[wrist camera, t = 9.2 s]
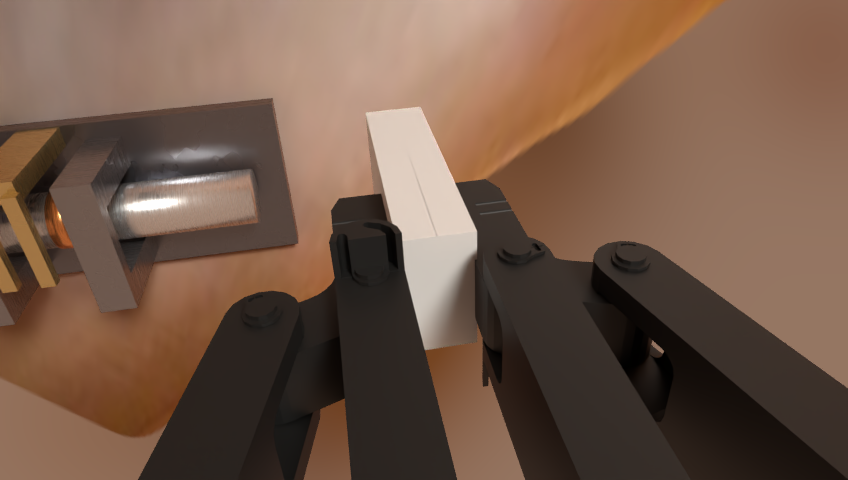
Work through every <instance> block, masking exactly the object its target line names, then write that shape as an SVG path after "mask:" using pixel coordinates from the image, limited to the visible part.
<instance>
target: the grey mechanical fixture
mask: <svg viewBox="0 0 848 480" xmlns="http://www.w3.org/2000/svg"><path fill="white" fill-rule="evenodd" d="M57 127H59V129H60V131H61V134H62V137H63V139H64V142H65V144H66V147H65V148H64V149H63V151H62V152H61V153H60V154H59V156H58V157H57V158H56V159H55V161H54V162H53V163H52V164H51V166H50V167H49V168H48V170H47V171H46V172H45V173H44V175H43V176H42V177H41V178H40V180H39V181H38V182H37V183H36V185H35V186H34V187H33V189H32V190H31V191H30V192H29V194H34V193H43V192H49V191H50V193H51V196H52V198H53V200H54V203H55V205H56V207H57V210H58V212H59V214H60V217H61V219H62V221H63V224H64V226H65V229H66V231H67V233H68V236H69V238H70V240H71V243H72V245H73V247H74V248H69V249H61V248H52V249H46V250H47V252H48V254H49V257H50V259H51V261H52V263H53V265H54V268H55V270H56V272H57V274H64V273H72V272H80V271H84V273H85V275H86V278H87V280H88V282H89V285H90V287H91V289H92V292H93V294H94V296H95V299H96V301H97V304H98V306H99V308H100V311H101V313H103V312H110V311H117V310H125V309H132V308H138V305H139V302H140V300H141V297H142V294H143V291H144V288H145V286H146V283H147V280H148V277H149V274H150V272H151V269H152V266H153V263H154V262H158V261H165V260H173V259H181V258H189V257H196V256H204V255H212V254H220V253H227V252H235V251H243V250H251V249H259V248H266V247H274V246H282V245H290V244H297V243H298V232H297V226H296V221H295V216H294V210H293V205H292V200H291V194H290V189H289V184H288V178H287V173H286V168H285V162H284V157H283V152H282V146H281V141H280V136H279V130H278V125H277V120H276V114H275V109H274V104H273V98H271V99H261V100H251V101H242V102H232V103H222V104H212V105H202V106H192V107H183V108H173V109H163V110H153V111H143V112H134V113H124V114H114V115H104V116H94V117H84V118H75V119H65V120H55V121H45V122H35V123H25V124H16V125H6V126H0V147H1V146H2V145H3V144H4V143H5V142H6V141H7V140H8V139H9V138H10V137H11V136H12V135H13V134H14V133H15V132H18V131H28V130H37V129H47V128H57ZM245 169H252V170H253V172H254V175H255V178H256V182H257V186H258V192H259V199H260V209H261V219H260V223H253V224H245V225H237V226H229V227H221V228H213V229H205V230H197V231H189V232H181V233H173V234H165V235H156V236H148V237H140V238H132V239H124V240H118V237H117V235H116V232H115V229H114V227H113V224H112V221H111V219H110V216H109V213H108V211H107V206H108V204H109V203H110V201H111V199H112V197H113V195H114V193H115V191H116V190H117V188H118V186H119V184H122V183H131V182H139V181H148V180H157V179H166V178H174V177H183V176H192V175H201V174H209V173H218V172H227V171H236V170H245ZM7 255H8V257H9V259H10V261H11V263H12V265H13V267H14V269H15V271H16V273H17V275H18V277H19V279H20V281H21V283H22V286H21V287H20V289H19V290H18V291H16V292H8V293H2V291H1V289H0V326H7V325H15V324H16V322H17V320H18V319H19V317H20V315H21V314H22V312H23V310H24V309H25V307H26V305H27V304H28V302H29V300H30V299H31V297H32V295H33V294H34V292H35V290H36V289H37V287H38V285H39V282H38V280H37V278H36V276H35V274H34V272H33V269H32V267H31V265H30V263H29V261H28V259H27V257H26V255H25V253H24V252H19V253H11V254H7Z"/></svg>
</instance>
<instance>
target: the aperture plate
mask: <svg viewBox="0 0 848 480" xmlns="http://www.w3.org/2000/svg"><path fill="white" fill-rule="evenodd" d="M65 147H66V144H65V142H64V139H63V137H62V134H61V131H60V129H59V127H57V128H47V129H37V130H28V131H18V132H15V133H14V134H13V135H12V136H11V137H10V138H9V139H8V140H7V141H6V142H5V143H4V144H3V145H2V146H1V147H0V205H2V207H3V209H4V211H5V213H6V215H7V218H8V220H9V222H10V224H11V226H12V228H13V230H14V232H15V234H16V236H17V238H18V240H19V242H20V245H21V247H22V249H23V251H24V253H25V255H26V257H27V259H28V261H29V263H30V265H31V267H32V269H33V272H34V274H35V276H36V278H37V280H38V282H39V284H40V286H41V288H46V287H54V286H57V284H58V282H59V281H60V279H59V276H58V274H57V272H56V270H55V268H54V265H53V263H52V261H51V259H50V257H49V254H48V252H47V250H46V248H45V246H44V243H43V241H42V239H41V237H40V235H39V233H38V230H37V228H36V226H35V224H34V222H33V219H32V217H31V215H30V213H29V211H28V208H27V206H26V204H25V202H24V199H25V197H26V196H27V195H28V194H29V192H30V191H31V190H32V189H33V187H34V186H35V185H36V183H37V182H38V181H39V180H40V178H41V177H42V176H43V175H44V173H45V172H46V171H47V170H48V168H49V167H50V166H51V164H52V163H53V162H54V161H55V159H56V158H57V157H58V156H59V154H60V153H61V152H62V151H63V149H64V148H65ZM21 286H22V283H21V281H20V279H19V277H18V275H17V273H16V271H15V269H14V267H13V265H12V263H11V261H10V259H9V257H8V255H7V253H6V251H5V249H4V247H3V245H2V243H1V241H0V289H1V291H2V293H8V292H16V291H18V290H19V289H20V287H21Z"/></svg>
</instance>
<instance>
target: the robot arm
mask: <svg viewBox="0 0 848 480" xmlns="http://www.w3.org/2000/svg"><path fill="white" fill-rule="evenodd" d="M366 122H367V132H368V141H369V151H370V161H371V170H372V180H373V189H374V194H373V195H365V196H357V197H348V198H340V199H339V200H338V201H337V203H336V204H335V206H334V207H333V209H332V210H331V215H332V227H333V234H332V235H331V238H330V241H329V244H330V251H331V257H332V263H333V270H334V276H335V279H334V280H333V282H332V284H331V285H330V286H329V287H328V288H327V289H326V290H325V291H323V292H322V293H320V294H319V295H317V296H314V297H312V298H310V299H308V300H305V301H302V302H299V303H298V302H297V300H296V299H295V298H294V297H292V296H291V295H289V294H287V293H284V292H276V291H268V292H259V293H256V294H253V295H250V296H247V297H244V298H243V299H241V300H240V301H238V302H236V303H235V304H233V305H232V307H231V308H230V309H229V310H228V311H227V313H226V314H225V316H224V318H223V320H222V321H221V323H220V325H219V327H218V329H217V331H216V333H215V335H214V337H213V338H212V340H211V342H210V344H209V346H208V348H207V350H206V352H205V354H204V356H203V357H202V359H201V361H200V363H199V365H198V367H197V369H196V371H195V373H194V375H193V376H192V378H191V380H190V382H189V384H188V386H187V388H186V390H185V392H184V393H183V395H182V397H181V399H180V401H179V403H178V405H177V407H176V409H175V411H174V412H173V414H172V416H171V418H170V420H169V422H168V424H167V426H166V428H165V430H164V431H163V433H162V435H161V437H160V439H159V441H158V443H157V445H156V447H155V449H154V451H153V453H152V454H151V456H150V458H149V460H148V462H147V464H146V466H145V468H144V469H143V471H142V473H141V476H140V477H139V479H138V480H303V479H304V475H305V471H306V467H307V464H308V461H309V457H310V453H311V449H312V446H313V442H314V438H315V434H316V431H317V427H318V424H319V420H320V409H321V408H323V407H326V406H328V405H331V404H333V403H335V402H338V401H340V400H342V399H344V398H345V407H346V419H347V431H348V444H349V455H350V467H351V480H457V477H456V473H455V469H454V465H453V461H452V457H451V453H450V449H449V445H448V442H447V437H446V433H445V429H444V425H443V422H442V417H441V413H440V409H439V405H438V401H437V397H436V393H435V389H434V385H433V381H432V377H431V373H430V369H429V365H428V361H427V357H426V353H425V350H428V349H435V348H442V347H448V346H455V345H461V344H468V343H475V342H477V324H478V326H479V329H480V332H481V335H482V337H483V373H482V374H483V375H482V378H483V386H488V377H490V380H491V383H492V386H493V389H494V392H495V394H496V397H497V400H498V403H499V406H500V409H501V412H502V415H503V417H504V420H505V423H506V426H507V429H508V432H509V435H510V437H511V440H512V443H513V446H514V449H515V451H516V454H517V457H518V460H519V463H520V466H521V469H522V471H523V474H524V477H525V480H848V388H846V387H845V386H844V385H842V384H841V383H840V382H838V381H837V380H835V379H834V378H833V377H831V376H830V375H828V374H827V373H826V372H824V371H823V370H822V369H820V368H819V367H817V366H816V365H815V364H813V363H812V362H810V361H809V360H808V359H806V358H805V357H803V356H802V355H801V354H799V353H798V352H797V351H795V350H794V349H793V348H791V347H790V346H788V345H787V344H786V343H784V342H783V341H781V340H780V339H779V338H777V337H776V336H775V335H773V334H772V333H770V332H769V331H768V330H766V329H765V328H763V327H762V326H761V325H759V324H758V323H757V322H755V321H754V320H752V319H751V318H750V317H748V316H747V315H745V314H744V313H743V312H741V311H740V310H738V309H737V308H736V307H734V306H733V305H732V304H730V303H729V302H727V301H726V300H725V299H723V298H722V297H721V296H719V295H718V294H716V293H715V292H714V291H712V290H711V289H710V288H708V287H707V286H705V285H704V284H703V283H701V282H700V281H699V280H697V279H696V278H694V277H693V276H691V275H690V274H689V273H687V272H686V271H685V270H683V269H682V268H680V267H679V266H678V265H676V264H675V263H674V262H672V261H671V260H670V259H668V258H667V257H665V256H664V255H663V254H661V253H660V252H658V251H657V250H655V249H653V248H651V247H649V246H647V245H643V244H639V243H636V242H629V241H628V242H626V241H619V242H613V243H608V244H605V245H604V246H602V247H600V248H598V250H597V251H596V252H595V254H594V259H593V262H579V261H568V260H561V259H557V258H555V257H554V256H553V254H552V252H551V251H550V249H549V248H548V247H547V246H546V245H545V244H544V243H542V242H540V241H538V240H536V239H533V238H529V237H528V236H527V235H526V233H525V231H524V230H523V228H522V226H521V224H520V222H519V221H518V219H517V217H516V216H515V214H514V212H513V211H512V210H511V207H510V205H509V204H508V202H506V198H505V197H504V195H503V193H502V192H501V190H500V188H498V187H497V186H495V185H494V184H492V183H490V182H489V181H487V180H486V179H484V180H476V181H467V182H459V183H455V182H454V180H453V178H452V175H451V173H450V171H449V169H448V167H447V164H446V162H445V160H444V158H443V156H442V154H441V151H440V149H439V147H438V145H437V143H436V140H435V138H434V136H433V134H432V132H431V129H430V127H429V125H428V123H427V121H426V119H425V116H424V114H423V112H422V110H421V108H420V107H414V108H405V109H395V110H386V111H376V112H367V113H366ZM652 340H653V341H654V342H655V343H656V344H657V345H659V346H660V347H661V348H662V349H663V350H664V353H663V354H662V353H661V352H659V351H658V350H657V349H655V348H654V347H653V346H652V345H651V344H652Z"/></svg>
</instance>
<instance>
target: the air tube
mask: <svg viewBox="0 0 848 480" xmlns="http://www.w3.org/2000/svg"><path fill="white" fill-rule="evenodd" d="M24 202H25V204H26V206H27V208H28V211H29V213H30V215H31V217H32V219H33V222H34V224H35V226H36V228H37V230H38V233H39V235H40V237H41V239H42V241H43V243H44V246H45V248H46V249H52V248H61V249H69V248H74V247H73V245H72V243H71V240H70V238H69V236H68V233H67V231H66V229H65V226H64V224H63V221H62V219H61V217H60V214H59V212H58V210H57V207H56V205H55V203H54V200H53V198H52V196H51V193H50V191H49V192H43V193H34V194H28V195H27V196H26V197H25V199H24ZM107 211H108V213H109V216H110V219H111V221H112V224H113V227H114V229H115V232H116V235H117V237H118V240H124V239H132V238H140V237H148V236H156V235H165V234H173V233H181V232H189V231H197V230H205V229H213V228H221V227H229V226H237V225H245V224H253V223H260V219H261V209H260V199H259V192H258V186H257V182H256V178H255V175H254V172H253V170H252V169H245V170H236V171H227V172H218V173H209V174H201V175H192V176H183V177H174V178H166V179H157V180H148V181H139V182H131V183H122V184H119V186H118V188H117V190H116V191H115V193H114V195H113V197H112V199H111V201H110V203H109V204H108V206H107ZM0 241H1V243H2V245H3V247H4V249H5V251H6V253H7V254H11V253H19V252H24V251H23V249H22V247H21V245H20V242H19V240H18V238H17V236H16V234H15V232H14V230H13V228H12V226H11V224H10V222H9V220H8V218H7V215H6V213H5V211H4V209H3V207H2V205H0Z"/></svg>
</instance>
